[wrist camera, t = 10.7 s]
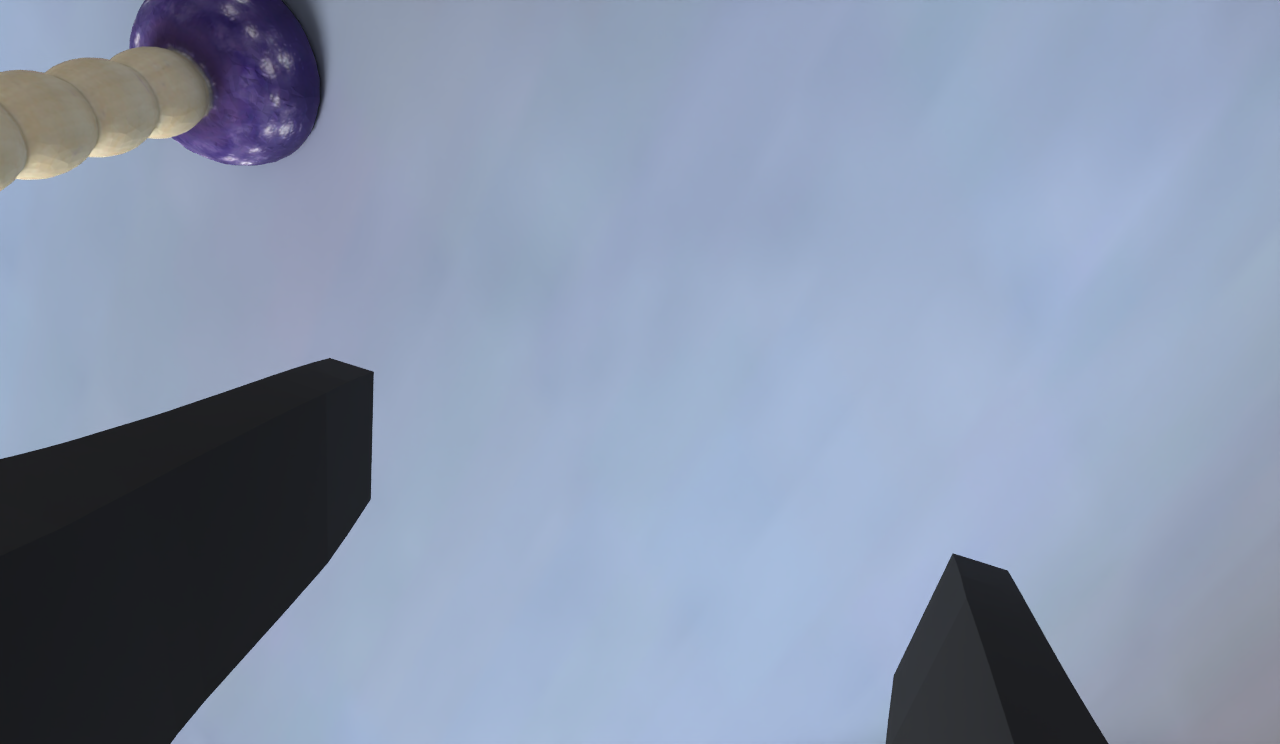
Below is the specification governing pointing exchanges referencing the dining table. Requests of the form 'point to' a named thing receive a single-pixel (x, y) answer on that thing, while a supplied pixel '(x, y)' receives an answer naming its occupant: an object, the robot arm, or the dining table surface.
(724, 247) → the dining table surface
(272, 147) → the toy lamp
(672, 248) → the dining table surface
